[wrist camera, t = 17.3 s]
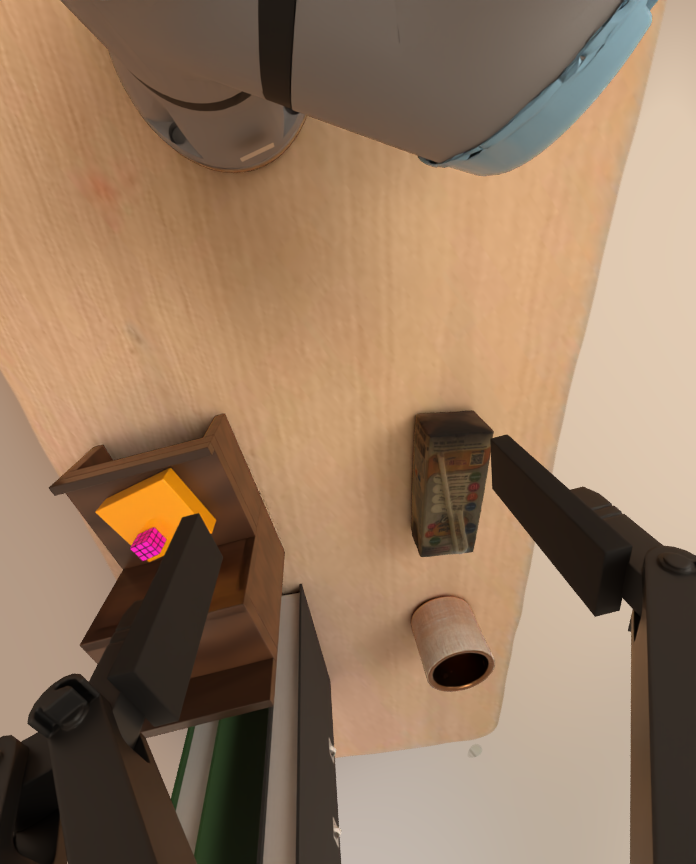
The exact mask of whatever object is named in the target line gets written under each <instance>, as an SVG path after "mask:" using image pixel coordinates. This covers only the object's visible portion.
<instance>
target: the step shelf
mask: <svg viewBox="0 0 696 864" xmlns="http://www.w3.org/2000/svg"><path fill="white" fill-rule="evenodd" d="M168 468H172V470H173V471H174V472H175V473H176V474H177V475H178V476H179V478H180V479H181V480H182V481H183V482H184V483H185V484H186V486H187V487H188V488H189V489H190V490H191V491H192V493H193V494H194V495H195V496H196V497H197V498H198V499H199V501H200V502H201V503H202V504H203V505H204V506H205V508H206V509H207V510H208V511H209V512H210V513H211V514H212V516H213V517H214V518H215V519H216V523H215V526H214V529H213V532H212V534H211V536H212V537H213V539H214V541H215V543H216V545H217V547H218V548H219V550H220V552H221V554H222V556H223V560H222V563H221V567H220V571H219V574H218V578H217V582H216V585H215V589H214V593H213V596H212V600H211V604H210V607H209V611H208V615H207V618H206V622H205V626H204V629H203V633H202V637H201V640H200V644H199V648H198V651H197V655H196V659H195V662H194V666H193V670H192V673H191V677H190V681H189V684H188V688H187V692H186V695H185V699H184V703H183V707H182V710H181V714H180V718H179V721H177V722H173V723H169V724H165V725H161V726H157V727H154V726H153V725H152V724H151V723H150V722H149V721H148V720H147V719H146V718H145V720H144V723H143V726H142V728H141V731H140V732H141V733H142V734H143V735H144V736H145V738H148V737H152V736H157V735H161V734H165V733H169V732H173V731H176V730H180V729H184V728H189V727H193V726H197V725H201V724H205V723H208V722H212V721H216V720H220V719H224V718H228V717H232V716H236V715H240V714H244V713H248V712H252V711H256V710H260V709H264V708H268V707H272V706H274V697H275V682H276V668H277V653H278V639H279V625H280V610H281V596H282V582H283V568H284V553H285V552H284V549H283V547H282V545H281V543H280V540H279V538H278V536H277V533H276V531H275V529H274V526H273V524H272V522H271V519H270V517H269V515H268V512H267V510H266V508H265V506H264V503H263V501H262V499H261V496H260V494H259V492H258V489H257V487H256V485H255V482H254V480H253V478H252V475H251V473H250V471H249V468H248V466H247V464H246V462H245V459H244V457H243V455H242V452H241V450H240V448H239V445H238V443H237V441H236V438H235V436H234V434H233V431H232V429H231V427H230V425H229V422H228V420H227V418H226V415H225V414H221V415H217V416H215V417H214V419H213V421H212V423H211V424H210V426H209V428H208V430H207V431H206V433H205V435H204V437H203V438H200V439H196V440H192V441H188V442H184V443H180V444H176V445H172V446H168V447H165V448H161V449H157V450H153V451H149V452H145V453H141V454H137V455H133V456H129V457H126V458H122V459H118V460H114V461H113V460H112V458H111V457H110V455H109V454H108V452H107V450H106V449H105V447H104V446H103V445H100V446H97V447H93V448H92V449H91V450H90V451H89V452H88V453H87V454H86V455H84V456H83V457H82V458H81V459H80V460H79V461H78V462H77V463H76V464H74V465H73V466H72V467H71V468H70V469H69V470H68V471H67V472H66V473H65V474H63V475H62V476H61V477H60V478H59V479H58V480H57V481H56V482H55V483H54V484H52V486H50V487H49V489H50V491H51V492H52V493H53V494H54V495H55V496H56V495H59V494H63V493H66V494H67V496H68V497H69V498H70V500H71V501H72V502H73V504H74V505H75V506H76V508H77V509H78V510H79V512H80V513H81V514H82V516H83V517H84V518H85V520H86V521H87V522H88V524H89V525H90V526H91V528H92V529H93V530H94V532H95V533H96V534H97V536H98V537H99V538H100V540H101V541H102V542H103V544H104V545H105V546H106V548H107V549H108V550H109V552H110V553H111V554H112V556H113V557H114V558H115V560H116V561H117V562H118V564H119V565H120V566H121V568H122V569H123V571H122V573H121V574H120V576H119V578H118V580H117V581H116V583H115V585H114V587H113V588H112V590H111V592H110V593H109V595H108V597H107V599H106V600H105V602H104V604H103V606H102V607H101V609H100V611H99V612H98V614H97V616H96V618H95V619H94V621H93V623H92V625H91V626H90V628H89V630H88V631H87V633H86V635H85V637H84V639H83V640H82V642H81V644H80V646H81V647H82V648H83V650H84V651H86V653H87V654H88V655H89V656H90V657H91V658H92V659H93V660H94V661H95V662H96V663H97V664H98V663H99V661H100V659H101V657H102V655H103V653H104V651H105V649H106V647H107V645H109V641H110V639H111V637H112V635H113V633H115V632H116V630H115V629H116V628H117V626H118V624H119V622H120V620H121V618H122V616H123V614H124V613H125V612H126V611H127V610H128V608H129V607H130V606H131V605H132V604H133V602H134V601H137V600H141V599H144V597H145V595H146V593H147V591H148V589H149V587H150V584H151V582H152V580H153V578H154V576H155V574H156V572H157V570H158V567H159V565H160V563H161V561H162V559H163V557H164V556H162V557H160V558H158V559H156V560H153V561H151V562H148V561H147V560H145V561H142V560H141V559H140V558H139V557H138V556H137V555H136V554H135V553H134V552H132V551H131V550H130V547H131V545H130V544H129V543H128V542H127V541H126V540H124V539H123V538H122V537H121V536H120V535H119V534H118V533H117V532H116V531H115V530H114V529H113V528H112V527H110V526H109V525H108V524H107V523H106V522H105V521H104V520H103V519H102V518H101V517H100V516H99V515H98V514H96V510H97V509H98V508H99V507H100V505H101V504H102V503H103V502H104V501H105V499H106V498H108V497H111V496H113V495H115V494H117V493H119V492H121V491H123V490H125V489H127V488H129V487H131V486H133V485H135V484H137V483H139V482H141V481H143V480H145V479H147V478H149V477H152V476H154V475H156V474H158V473H160V472H162V471H164V470H166V469H168Z"/></svg>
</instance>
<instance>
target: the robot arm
mask: <svg viewBox="0 0 696 864" xmlns="http://www.w3.org/2000/svg"><path fill="white" fill-rule="evenodd" d="M657 1H658V0H61V2H62V3H63V4H64V5H65V6H66V7H67V8H68V9H69V10H70V11H71V12H72V13H73V14H74V15H75V16H76V17H77V18H78V19H79V20H80V21H81V22H82V23H83V24H84V25H85V26H86V27H87V28H88V29H89V30H90V31H91V32H92V33H93V34H94V35H95V36H96V38H97V39H98V40H99V41H100V42H101V43H102V44H103V45H104V46H105V47H106V48H107V49H108V51H109V54H110V57H111V60H112V62H113V65H114V67H115V70H116V72H117V75H118V77H119V79H120V81H121V83H122V85H123V87H124V89H125V90H126V92H127V94H128V96H129V97H130V99H131V101H132V102H133V104H134V106H135V107H136V109H137V110H138V111H139V113H140V114H141V116H142V117H143V118H144V120H145V121H146V122H147V123H148V125H149V126H150V127H151V128H152V129H153V130H154V131H155V132H156V133H157V134H158V135H159V136H160V137H161V138H162V139H163V140H164V141H165V142H166V143H167V144H168V145H170V146H171V147H172V148H173V149H175V150H176V151H177V152H179V153H180V154H181V155H183V156H184V157H186V158H188V159H189V160H191V161H193V162H195V163H197V164H199V165H201V166H204V167H206V168H209V169H212V170H216V171H221V172H230V173H238V172H247V171H252V170H255V169H258V168H261V167H263V166H265V165H267V164H269V163H270V162H272V161H274V160H275V159H276V158H278V157H279V156H280V155H281V154H282V153H283V152H284V151H285V150H286V149H287V148H288V147H289V146H290V145H291V143H292V142H293V141H294V140H295V138H296V136H297V135H298V133H299V132H300V130H301V128H302V126H303V124H304V121H305V119H306V116H310V117H313V118H316V119H318V120H321V121H324V122H327V123H329V124H332V125H335V126H338V127H340V128H343V129H346V130H349V131H352V132H354V133H357V134H360V135H363V136H365V137H368V138H371V139H374V140H376V141H379V142H382V143H385V144H387V145H390V146H393V147H396V148H398V149H401V150H404V151H407V152H409V153H412V154H415V155H418V158H419V159H420V160H421V161H422V162H423V163H425V164H427V165H429V166H432V167H443V168H445V167H451V168H454V169H457V170H461V171H464V172H467V173H471V174H474V175H478V176H489V175H499V174H502V173H506V172H509V171H511V170H513V169H515V168H517V167H519V166H521V165H523V164H525V163H527V162H528V161H530V160H531V159H533V158H534V157H536V156H537V155H538V154H540V153H541V152H542V151H544V150H545V149H546V148H548V147H549V146H550V145H551V144H552V143H554V142H555V141H556V140H557V139H558V138H559V137H560V136H561V135H562V134H563V133H564V132H565V131H567V130H568V129H569V128H570V127H571V126H572V125H573V124H574V123H575V122H576V121H577V120H578V119H579V117H580V116H581V115H582V114H583V113H584V112H585V111H586V110H587V109H588V108H589V107H590V105H591V104H592V103H593V102H594V101H595V100H596V99H597V97H598V96H599V95H600V94H601V93H602V91H603V90H604V89H605V88H606V87H607V85H608V84H609V83H610V82H611V80H612V79H613V78H614V77H615V75H616V74H617V73H618V71H619V70H620V69H621V67H622V66H623V65H624V63H625V62H626V61H627V59H628V58H629V56H630V55H631V54H632V52H633V51H634V49H635V48H636V46H637V45H638V43H639V42H640V40H641V39H642V37H643V36H644V34H645V33H646V31H647V30H648V28H649V27H650V25H651V23H652V15H651V12H650V10H651V8H652V7H653V6H654V5H655V4H656V2H657ZM490 446H491V467H492V489H493V490H494V491H495V492H496V494H497V495H498V496H499V497H500V499H501V500H502V501H503V502H504V504H505V505H506V506H507V507H508V509H509V510H510V511H511V512H512V514H513V515H514V516H515V517H516V519H517V520H518V521H519V522H520V524H521V525H522V526H523V527H524V529H525V530H526V531H527V532H528V534H529V535H530V536H531V537H532V539H533V540H534V541H535V542H536V544H537V545H538V546H539V547H540V549H541V550H542V551H543V552H544V553H545V555H546V556H547V557H548V559H549V560H550V561H551V562H552V564H553V565H554V566H555V567H556V569H557V570H558V571H559V572H560V574H562V576H563V577H564V578H565V580H566V581H567V582H568V583H569V585H570V586H571V587H572V588H573V590H574V591H575V592H576V593H577V595H578V596H579V597H580V598H581V600H582V601H583V602H584V603H585V605H586V606H587V607H588V608H589V610H590V611H591V612H592V613H593V615H594V616H595V617H596V616H600V615H603V614H607V613H612V612H616V611H619V610H620V606H621V601H622V598H623V599H624V600H625V601H626V602H627V603H628V604H629V605H630V606H631V607H632V608H633V611H632V615H631V619H630V624H629V628H628V631H630V632H631V795H630V796H631V797H630V798H631V801H630V864H696V556H695V555H693V554H691V553H690V552H688V551H685V550H682V549H679V548H676V547H670V546H663V545H662V544H661V543H659V542H658V541H657V540H656V539H654V538H653V537H652V536H651V535H649V534H648V533H647V532H646V531H644V530H643V529H642V528H641V527H640V526H638V525H637V524H636V523H635V522H634V521H632V520H631V519H630V518H629V517H627V516H626V515H625V514H622V513H621V511H620V510H619V509H617V508H616V507H615V506H612V504H611V503H610V502H609V501H608V500H606V499H605V498H604V497H603V496H601V495H600V494H599V493H596V492H594V491H592V490H590V489H587V488H585V487H580V488H576V489H572V490H569V489H568V488H567V487H566V486H565V485H564V484H563V483H561V482H560V481H559V480H558V479H557V478H556V477H554V475H552V474H551V473H550V472H549V471H548V470H547V469H546V468H545V467H543V466H542V465H541V464H540V463H539V462H538V461H537V460H536V459H534V458H533V457H532V456H531V455H530V454H529V453H528V452H526V451H525V450H524V449H523V448H522V447H521V446H520V445H519V444H517V443H516V442H515V441H514V440H513V439H512V438H511V437H510V436H508V435H503V436H499V437H495V438H491V439H490ZM222 560H223V556H222V554H221V552H220V550H219V548H218V547H217V545H216V543H215V541H214V539H213V537H212V536H211V534H210V532H209V530H208V528H207V527H206V525H205V523H204V521H203V519H202V517H201V516H200V514H199V513H197V514H193V515H189V516H185V517H182V519H181V521H180V523H179V525H178V527H177V529H176V531H175V533H174V536H173V538H172V540H171V542H170V544H169V546H168V548H167V550H166V553H165V555H164V557H163V559H162V561H161V563H160V565H159V567H158V570H157V572H156V574H155V576H154V578H153V580H152V582H151V584H150V587H149V589H148V591H147V593H146V595H145V597H144V599H141V600H137V601H134V602H133V604H132V605H131V606H130V607H129V608H128V610H127V611H126V612H125V613H124V614H123V616H122V618H121V620H120V622H119V624H118V626H117V628H116V629H115V630H116V632H115V633H113V635H112V637H111V639H110V641H109V645H107V647H106V649H105V651H104V653H103V655H102V657H101V659H100V661H99V663H98V665H97V667H96V669H95V671H94V673H93V675H92V677H91V679H90V681H89V682H88V681H87V680H86V679H85V678H84V677H83V676H82V675H81V674H71V675H68V676H65V677H63V678H62V679H60V680H59V681H57V682H55V683H54V684H53V685H51V686H50V687H49V688H48V689H47V690H46V691H45V692H44V693H43V694H42V695H41V696H40V698H39V699H38V700H37V701H36V703H35V704H34V706H33V708H32V710H31V712H30V714H29V717H28V724H29V725H30V726H31V727H32V728H34V729H35V730H36V731H38V733H36V734H34V735H32V736H31V737H29V738H27V739H25V740H23V741H22V742H20V741H19V740H17V739H16V738H15V737H13V736H12V735H9V736H2V737H1V738H0V864H67V861H68V864H197V862H196V859H195V857H194V855H193V852H192V850H191V847H190V845H189V842H188V840H187V838H186V835H185V833H184V830H183V828H182V825H181V823H180V821H179V818H178V816H177V813H176V811H175V808H174V806H173V804H172V801H171V799H170V796H169V794H168V791H167V789H166V787H165V784H164V782H163V779H162V777H161V774H160V772H159V770H158V767H157V765H156V763H155V760H154V757H153V755H152V753H151V750H150V748H149V745H148V743H147V741H146V738H145V736H144V735H143V734H142V733H141V732H140V731H141V728H142V726H143V723H144V720H145V718H146V719H147V720H148V721H149V722H150V723H151V724H152V725H153V726H154V727H157V726H161V725H165V724H169V723H173V722H177V721H179V718H180V714H181V710H182V707H183V703H184V699H185V695H186V692H187V688H188V684H189V681H190V677H191V673H192V670H193V666H194V662H195V659H196V655H197V651H198V648H199V644H200V640H201V637H202V633H203V629H204V626H205V622H206V618H207V615H208V611H209V607H210V604H211V600H212V596H213V593H214V589H215V585H216V582H217V578H218V574H219V571H220V567H221V563H222Z"/></svg>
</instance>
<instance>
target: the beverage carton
mask: <svg viewBox="0 0 696 864" xmlns="http://www.w3.org/2000/svg"><path fill="white" fill-rule="evenodd" d="M493 433H494V431H493V430H492V429H491V428H490V427H489V426H488V425H487V424H486V423H485V422H484V421H483V420H482V419H481V418H480V417H479V416H478V415H477V414H476V413H475V412H474V411H460V412H440V413H419V414H417V415H416V423H415V435H414V455H413V481H412V524H411V530H412V536H413V539H414V541H415V544H416V546H417V548H418V552H419V555H420V556H421V557H430V556H438V555H448V554H462V553H469V552H473V550H474V544H475V540H476V534H477V529H478V523H479V518H480V512H481V506H482V501H483V496H484V490H485V484H486V478H487V472H488V465H489V459H490V453H491V446H490V439H491V438H493Z"/></svg>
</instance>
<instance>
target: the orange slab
mask: <svg viewBox="0 0 696 864" xmlns="http://www.w3.org/2000/svg"><path fill="white" fill-rule="evenodd" d="M197 513H199V514H200V516H201V517H202V519H203V521H204V523H205V525H206V527H207V528H208V530H209V532H210V534H212V532H213V529H214V526H215V523H216V519H215V518H214V517H213V516H212V514H211V513H210V512H209V511H208V510H207V509H206V508H205V506H204V505H203V504H202V503H201V502H200V501H199V499H198V498H197V497H196V496H195V495H194V494H193V493H192V491H191V490H190V489H189V488H188V487H187V486H186V484H185V483H184V482H183V481H182V480H181V479H180V478H179V476H178V475H177V474H176V473H175V472H174V471H173V470H172V468H168V469H166V470H164V471H162V472H160V473H158V474H156V475H154V476H152V477H149V478H147V479H145V480H143V481H141V482H139V483H137V484H135V485H133V486H131V487H129V488H127V489H125V490H123V491H121V492H119V493H117V494H115V495H113V496H111V497H108V498H106V499H105V501H104V502H103V503H102V504H101V505H100V507H99V508H98V509H97V510H96V514H98V515H99V516H100V517H101V518H102V519H103V520H104V521H105V522H106V523H107V524H108V525H109V526H110V527H112V528H113V529H114V530H115V531H116V532H117V533H118V534H119V535H120V536H121V537H122V538H123V539H124V540H126V541H127V542H128V543H129V544H130V545H131V547H130V550H131V551H132V552H134V553H135V554H136V555H137V556H138V557H139V558H140V559H141V560H142V561H145V560H147V561H148V562H151V561H153V560H156V559H158V558H160V557H162V556H164V555H165V553H166V550H167V548H168V546H169V544H170V542H171V540H172V538H173V536H174V533H175V531H176V529H177V527H178V525H179V523H180V521H181V519H182V517H185V516H189V515H193V514H197Z"/></svg>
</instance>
